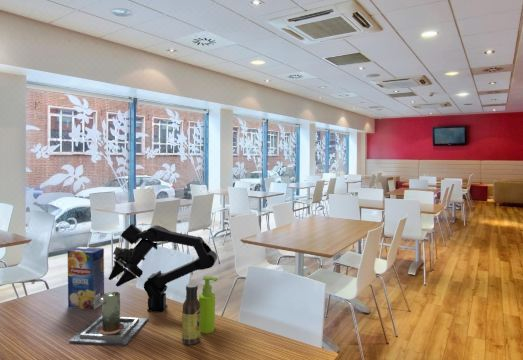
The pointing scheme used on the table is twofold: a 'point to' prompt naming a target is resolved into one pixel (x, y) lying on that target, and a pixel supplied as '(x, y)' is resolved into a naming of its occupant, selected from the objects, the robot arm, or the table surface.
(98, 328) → the port plate
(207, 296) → the soap dispenser
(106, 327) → the spout can
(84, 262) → the juice carton
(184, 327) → the sauce bottle
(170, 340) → the table surface
